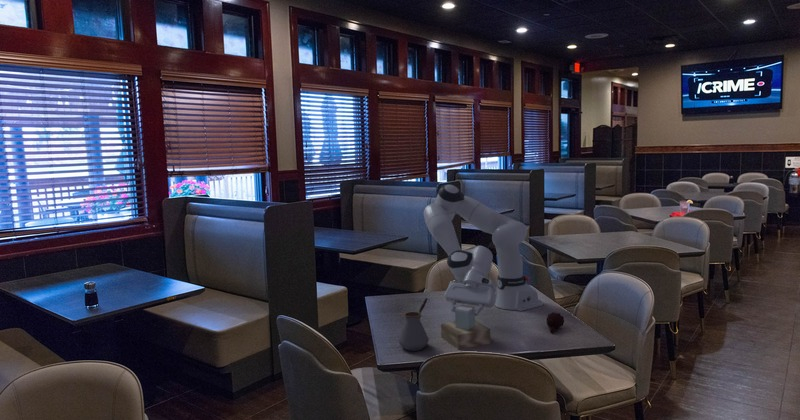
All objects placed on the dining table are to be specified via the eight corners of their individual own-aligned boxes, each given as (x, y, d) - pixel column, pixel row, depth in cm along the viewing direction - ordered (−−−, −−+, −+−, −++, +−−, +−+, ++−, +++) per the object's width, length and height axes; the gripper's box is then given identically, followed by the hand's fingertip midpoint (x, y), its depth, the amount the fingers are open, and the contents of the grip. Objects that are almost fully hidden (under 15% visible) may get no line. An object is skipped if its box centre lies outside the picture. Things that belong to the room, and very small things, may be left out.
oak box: (472, 332, 221) (471, 318, 220) (490, 344, 208) (490, 329, 207) (441, 338, 216) (441, 323, 215) (458, 350, 203) (457, 334, 202)
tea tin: (462, 323, 215) (461, 304, 214) (474, 325, 212) (474, 306, 211) (455, 327, 210) (455, 308, 209) (468, 329, 207) (468, 310, 206)
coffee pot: (422, 354, 199) (421, 315, 197) (393, 350, 203) (392, 311, 202) (441, 335, 218) (440, 298, 216) (415, 331, 223) (414, 296, 221)
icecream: (548, 307, 230) (538, 320, 217) (566, 305, 226) (556, 318, 213) (553, 322, 230) (543, 336, 218) (570, 320, 226) (561, 335, 214)
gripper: (448, 275, 220) (437, 305, 213) (495, 281, 209) (486, 312, 202) (453, 283, 224) (443, 313, 217) (500, 289, 214) (491, 320, 207)
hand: (464, 313), depth 210 cm, fingers open, 8 cm apart
